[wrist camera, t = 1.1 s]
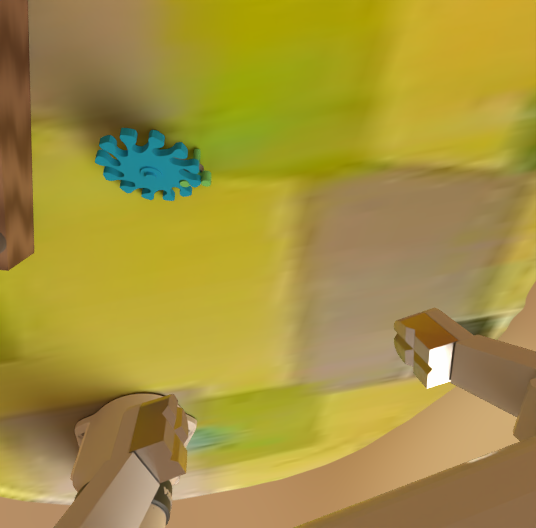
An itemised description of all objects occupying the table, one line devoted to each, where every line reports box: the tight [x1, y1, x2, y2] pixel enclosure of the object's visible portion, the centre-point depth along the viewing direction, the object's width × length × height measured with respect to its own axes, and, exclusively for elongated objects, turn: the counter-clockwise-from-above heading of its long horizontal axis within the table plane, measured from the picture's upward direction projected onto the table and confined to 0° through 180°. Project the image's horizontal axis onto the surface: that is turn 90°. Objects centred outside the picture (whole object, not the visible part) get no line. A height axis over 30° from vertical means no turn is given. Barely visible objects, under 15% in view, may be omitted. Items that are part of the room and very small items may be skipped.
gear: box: [95, 128, 211, 201], centre depth 29 cm, size 11×6×10 cm
